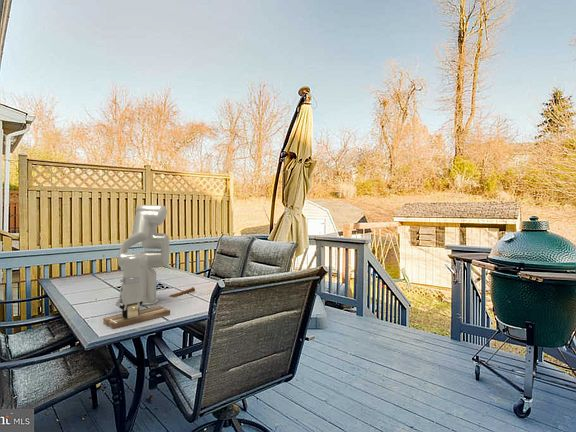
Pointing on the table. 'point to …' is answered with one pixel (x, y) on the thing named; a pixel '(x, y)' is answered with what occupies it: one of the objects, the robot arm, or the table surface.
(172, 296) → the primitive tool
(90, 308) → the table surface
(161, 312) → the board
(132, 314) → the marking gauge
